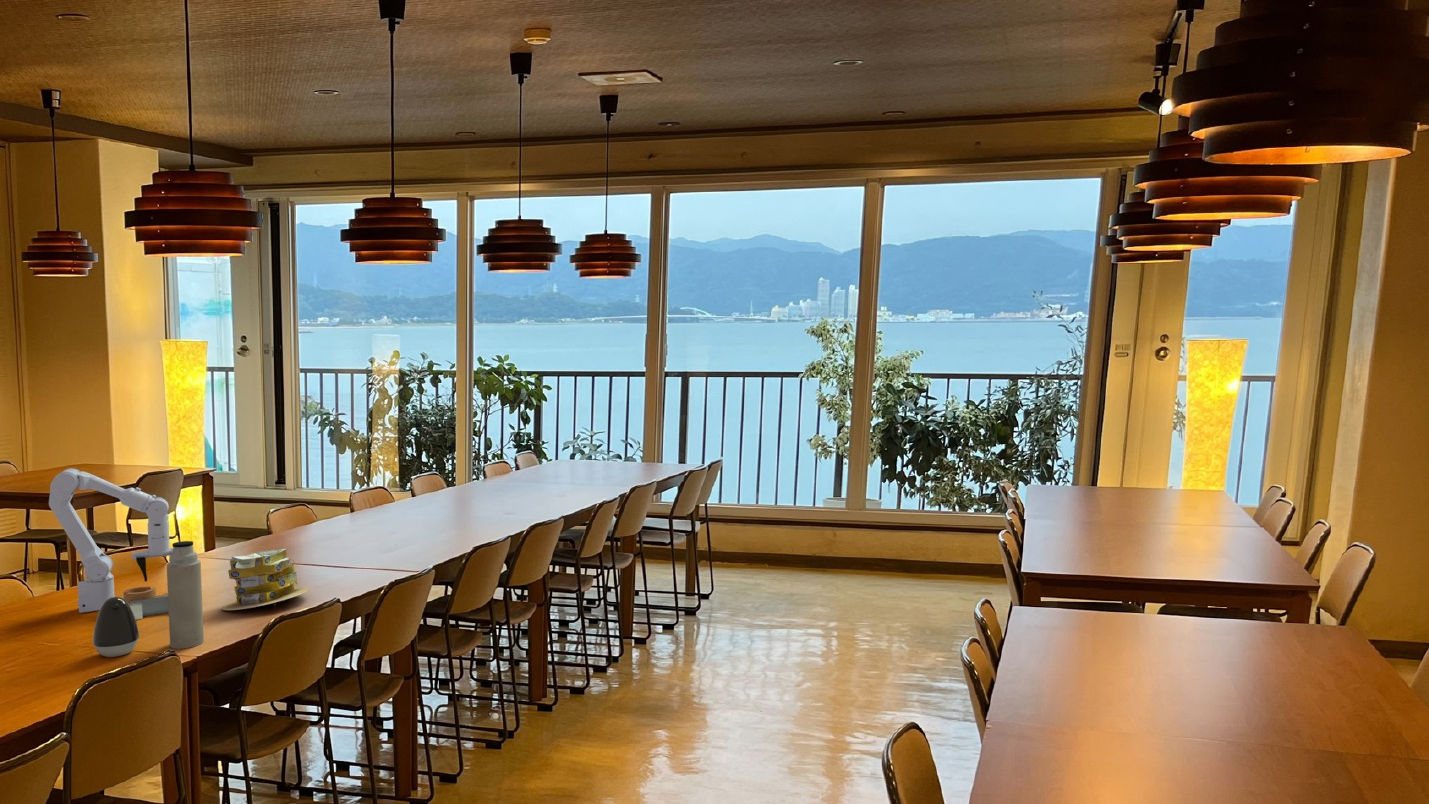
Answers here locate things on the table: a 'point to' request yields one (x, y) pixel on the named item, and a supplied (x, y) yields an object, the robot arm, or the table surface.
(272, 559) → the stacked boxes on plate
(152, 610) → the bar
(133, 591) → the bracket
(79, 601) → the robot arm
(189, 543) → the thermos bottle
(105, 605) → the grey white egg device
